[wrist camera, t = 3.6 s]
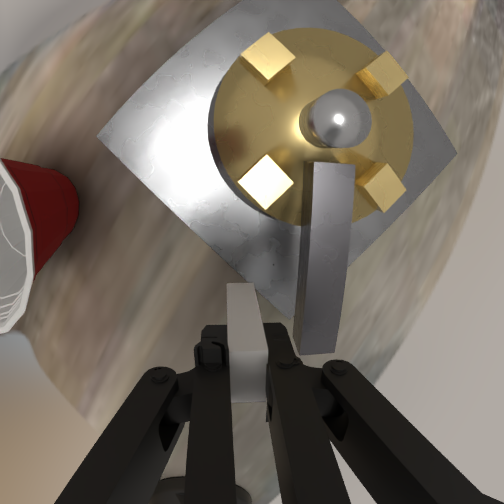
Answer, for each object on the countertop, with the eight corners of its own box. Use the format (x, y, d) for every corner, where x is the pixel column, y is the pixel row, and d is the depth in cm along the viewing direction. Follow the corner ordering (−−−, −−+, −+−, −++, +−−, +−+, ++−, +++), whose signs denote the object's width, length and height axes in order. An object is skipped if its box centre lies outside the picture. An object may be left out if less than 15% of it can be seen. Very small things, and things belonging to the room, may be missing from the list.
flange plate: (285, 310, 26) (295, 336, 22) (103, 137, 21) (81, 135, 17) (447, 152, 23) (476, 155, 19) (293, -25, 18) (303, -50, 14)
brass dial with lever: (218, 40, 16) (215, -5, 10) (388, 59, 17) (439, 35, 11) (217, 314, 21) (215, 370, 15) (371, 308, 22) (410, 353, 16)
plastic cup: (120, 264, 24) (51, 348, 12) (19, 270, 23) (-63, 333, 12) (105, 126, 21) (9, 111, 9) (1, 152, 20) (-99, 166, 8)
